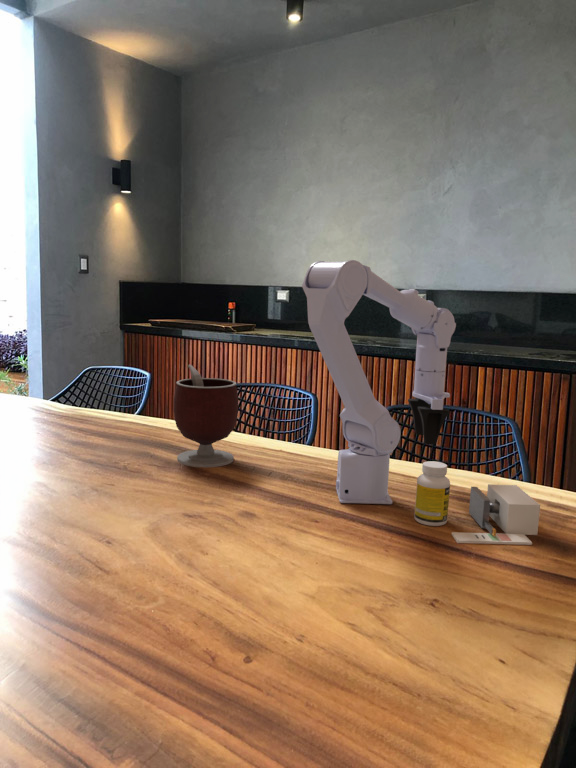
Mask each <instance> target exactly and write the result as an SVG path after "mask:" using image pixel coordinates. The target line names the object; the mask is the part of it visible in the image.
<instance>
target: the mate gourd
mask: <svg viewBox="0 0 576 768" xmlns="http://www.w3.org/2000/svg"><path fill="white" fill-rule="evenodd" d="M187 368H188V369H189V371H190V375H191V376H190V377H191V378H185V379H180V380H177V381H176V382H175V383H176V386H175V390H174V396H173V414H174V415H173V417H174V422H175V424H176V426H175V427H176V428H177V429H178V431H179V432H180V433H181V436H183V437H184V438H186V439H188V440H190V441H193V442H195V443H197V444H199V446H198V448H197V449H191V450H186V451H184V452H183V451H182V452H181V453H179V454H177V457H176V460H177V462H178V463H179V464H180V465H184V466H186V467H187V466H188V467H194V468H215V467H218V468H219V467H223V466H224V467H225V466H226V465H229V464H231V463H233V462H234V455H233V454H232V453H231V452H228V451H225V450H219V449H214V447H213V445H212V444H214V443H216V442H219V441H222V440H223V439H226V438H228V437H229V436H230V434H232V431H234V429H235V428H236V425H237V422H238V421H237V420H238V414H239V395H238V394H239V393H238V388H237V381H235V380H234V381H233V380H231V379H230V380H229V379H226V378H225V379H224V378H215V377H213V378H212V377H211V378H210V377H209V378H208V377H204V378H203V377H202V375H201V373H200V372H199V371H198V370H197V369H196V368H195V367H194V366H193V365H192V364H188V365H187Z"/></svg>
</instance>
